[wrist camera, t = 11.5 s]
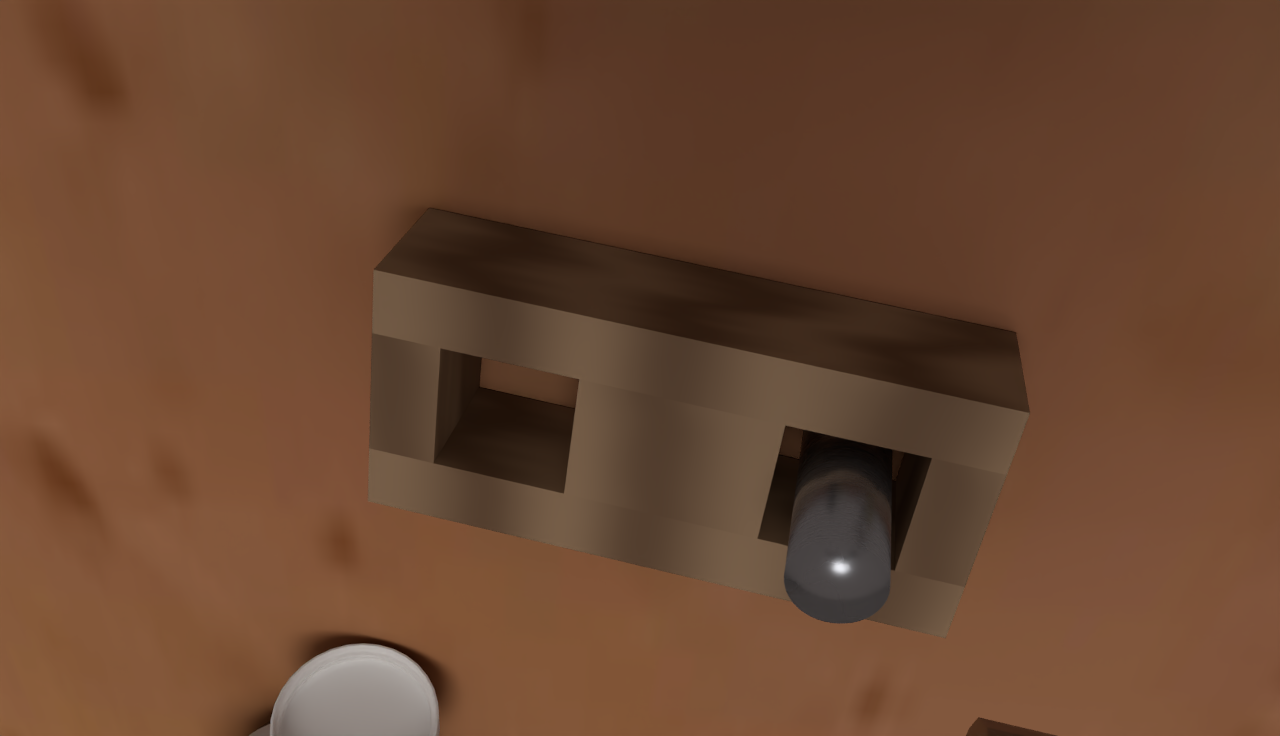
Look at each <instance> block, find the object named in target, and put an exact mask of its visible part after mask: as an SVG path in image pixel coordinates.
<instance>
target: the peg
mask: <svg viewBox="0 0 1280 736" xmlns="http://www.w3.org/2000/svg"><path fill="white" fill-rule="evenodd" d="M891 515H892V449H889V448H884V447H880V446H875V445H871V444H866V443H862V442H857V441H853V440H848V439H844V438H839V437H835V436H830V435H826V434H822V433H817V432H813V431H808V430H803V437H802V445H801V452H800V460H799V467H798V475H797V482H796V490H795V497H794V504H793V512H792V519H791V527H790V534H789V542H788V549H787V557H786V564H785V572H784V585H785V589H786V592H787V594H788V596H789V598H790V599H791V601H792V602H793V603H794V604H795V605H796V606H797V607H798V608H799V609H800V610H801V611H803V612H804V613H806V614H807V615H809V616H811V617H813V618H816V619H818V620H821V621H825V622H830V623H852V622H857V621H860V620H863V619H866V618H868V617H870V616H872V615H873V614H875V613H876V612H877V611H878V610H880V609H881V607H882V606H883V605H884V604H885V602H886V601H887V598H888V596H889V593H890V582H891Z"/></svg>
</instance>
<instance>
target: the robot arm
mask: <svg viewBox="0 0 1280 736" xmlns="http://www.w3.org/2000/svg"><path fill="white" fill-rule="evenodd" d="M966 736H1056V735H1052V734H1048V733H1043V732H1039V731H1035V730H1031V729H1026V728H1022V727H1018V726H1014V725H1009V724H1005V723H1001V722H996V721H992V720H988V719H984V718H979V717H978V718H977V720H976V721H975V722H974V723H973V724H972V726H971V727H970V728H969V730H968V732H967V735H966Z"/></svg>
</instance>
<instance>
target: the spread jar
mask: <svg viewBox="0 0 1280 736" xmlns="http://www.w3.org/2000/svg"><path fill="white" fill-rule="evenodd" d="M439 732H440V725H439V707H438V700H437V696H436V693H435V689H434V687H433V685H432V683H431V681H430V679H429V677H428V675H427V674H426V673H425V672H424V671H423V669H422V668H421V667H420V666H419V665H418V664H417V663H416V662H415V661H413V660H412V659H411V658H410V657H408V656H407V655H405V654H403V653H401V652H399V651H397V650H395V649H393V648H389V647H386V646H382V645H378V644H367V643H359V644H348V645H344V646H340V647H336V648H333V649H330V650H328V651H326V652H323V653H321V654H319V655H317V656H315V657H314V658H312V659H311V660H309V661H308V662H307V663H305V664H304V665H302V666H301V667H300V668H299V669H298V670H297V671H296V672H295V673H294V674H293V675H292V676H291V677H290V679H289V680H288V681H287V683H286V684H285V685H284V687H283V688H282V690H281V692H280V694H279V696H278V698H277V700H276V702H275V704H274V708H273V712H272V716H271V721H269V722H267V723H266V724H264V725H263V726H262V727H260V728H259V729H257V730H256V731H254V732H253V733H251V734H250V735H249V736H439Z"/></svg>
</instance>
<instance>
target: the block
mask: <svg viewBox="0 0 1280 736" xmlns="http://www.w3.org/2000/svg"><path fill="white" fill-rule="evenodd" d="M481 358H486V359H491V360H495V361H500V362H504V363H509V364H513V365H518V366H522V367H526V368H531V369H535V370H540V371H544V372H549V373H553V374H558V375H562V376H567V377H571V378H576V379H579V385H578V393H577V400H576V408H575V409H573V408H568V407H564V406H559V405H555V404H550V403H546V402H542V401H537V400H533V399H528V398H524V397H520V396H515V395H511V394H506V393H502V392H497V391H493V390H489V389H484V388H480V387H479V382H480V370H481ZM1029 414H1030V411H1029V405H1028V399H1027V393H1026V387H1025V382H1024V376H1023V370H1022V364H1021V359H1020V353H1019V347H1018V341H1017V335H1016V333H1015V332H1011V331H1006V330H1001V329H996V328H992V327H987V326H982V325H978V324H973V323H968V322H964V321H959V320H954V319H949V318H945V317H940V316H935V315H931V314H926V313H921V312H917V311H912V310H907V309H902V308H898V307H893V306H888V305H884V304H879V303H874V302H869V301H865V300H860V299H855V298H851V297H846V296H841V295H837V294H832V293H827V292H822V291H818V290H813V289H808V288H804V287H799V286H794V285H790V284H785V283H780V282H775V281H771V280H766V279H761V278H757V277H752V276H747V275H743V274H738V273H733V272H728V271H724V270H719V269H714V268H710V267H705V266H700V265H696V264H691V263H686V262H681V261H677V260H672V259H667V258H663V257H658V256H653V255H648V254H644V253H639V252H634V251H630V250H625V249H620V248H616V247H611V246H606V245H601V244H597V243H592V242H587V241H583V240H578V239H573V238H569V237H564V236H559V235H554V234H550V233H545V232H540V231H536V230H531V229H526V228H522V227H517V226H512V225H507V224H503V223H498V222H493V221H489V220H484V219H479V218H474V217H470V216H465V215H460V214H456V213H451V212H446V211H442V210H437V209H432V208H429V209H428V210H427V211H426V212H425V213H424V214H423V215H422V217H421V218H420V219H419V220H418V221H417V222H416V223H415V224H414V225H413V227H412V228H411V229H410V230H409V231H408V232H407V233H406V234H405V235H404V237H403V238H402V239H401V240H400V241H399V242H398V243H397V244H396V245H395V247H394V248H393V249H392V250H391V251H390V252H389V253H388V254H387V255H386V257H385V258H384V259H383V260H382V261H381V262H380V263H379V264H378V265H377V267H376V268H375V269H374V277H373V317H372V358H371V398H370V438H369V479H368V501H370V502H374V503H378V504H382V505H387V506H391V507H395V508H399V509H403V510H408V511H412V512H416V513H420V514H425V515H429V516H433V517H437V518H441V519H446V520H450V521H454V522H458V523H462V524H467V525H471V526H475V527H479V528H484V529H488V530H492V531H496V532H500V533H505V534H509V535H513V536H517V537H521V538H526V539H530V540H534V541H538V542H543V543H547V544H551V545H555V546H559V547H564V548H568V549H572V550H576V551H580V552H585V553H589V554H593V555H597V556H602V557H606V558H610V559H614V560H618V561H623V562H627V563H631V564H635V565H639V566H644V567H648V568H652V569H656V570H660V571H665V572H669V573H673V574H677V575H682V576H686V577H690V578H694V579H698V580H703V581H707V582H711V583H715V584H719V585H724V586H728V587H732V588H736V589H741V590H745V591H749V592H753V593H757V594H762V595H766V596H770V597H774V598H778V599H783V600H787V601H791V599H790V598H789V596H788V594H787V592H786V589H785V585H784V572H785V564H786V557H787V549H788V542H789V534H790V527H791V519H792V512H793V504H794V497H795V490H796V482H797V475H798V467H799V460H798V459H794V458H789V457H785V456H780V455H778V454H779V449H780V445H781V441H782V437H783V433H784V429H785V425H786V426H790V427H795V428H799V429H804V430H808V431H813V432H817V433H822V434H826V435H830V436H835V437H839V438H844V439H848V440H853V441H857V442H862V443H866V444H871V445H875V446H880V447H884V448H889V449H893V450H898V451H902V452H905V454H904V457H903V460H902V463H901V466H900V470H899V473H898V476H897V479H896V482H895V481H892V515H891V582H890V593H889V596H888V598H887V601H886V602H885V604H884V605H883V606H882V607H881V609H880V610H878V611H877V612H876V613H875V614H873V615H872V616H870V617H868V618H866V619H867V620H871V621H875V622H880V623H884V624H888V625H892V626H896V627H901V628H905V629H909V630H913V631H918V632H922V633H926V634H930V635H934V636H939V637H943V638H946V636H947V633H948V630H949V628H950V625H951V622H952V620H953V617H954V614H955V612H956V609H957V606H958V604H959V601H960V598H961V596H962V593H963V590H964V588H965V585H966V582H967V580H968V577H969V574H970V572H971V569H972V566H973V564H974V561H975V558H976V556H977V553H978V550H979V548H980V545H981V542H982V540H983V537H984V534H985V532H986V529H987V526H988V524H989V521H990V518H991V516H992V513H993V510H994V508H995V505H996V502H997V500H998V497H999V494H1000V492H1001V489H1002V486H1003V484H1004V481H1005V478H1006V476H1007V473H1008V470H1009V468H1010V465H1011V462H1012V460H1013V457H1014V454H1015V452H1016V449H1017V446H1018V444H1019V441H1020V438H1021V436H1022V433H1023V430H1024V428H1025V425H1026V422H1027V420H1028V417H1029ZM791 602H792V601H791Z"/></svg>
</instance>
